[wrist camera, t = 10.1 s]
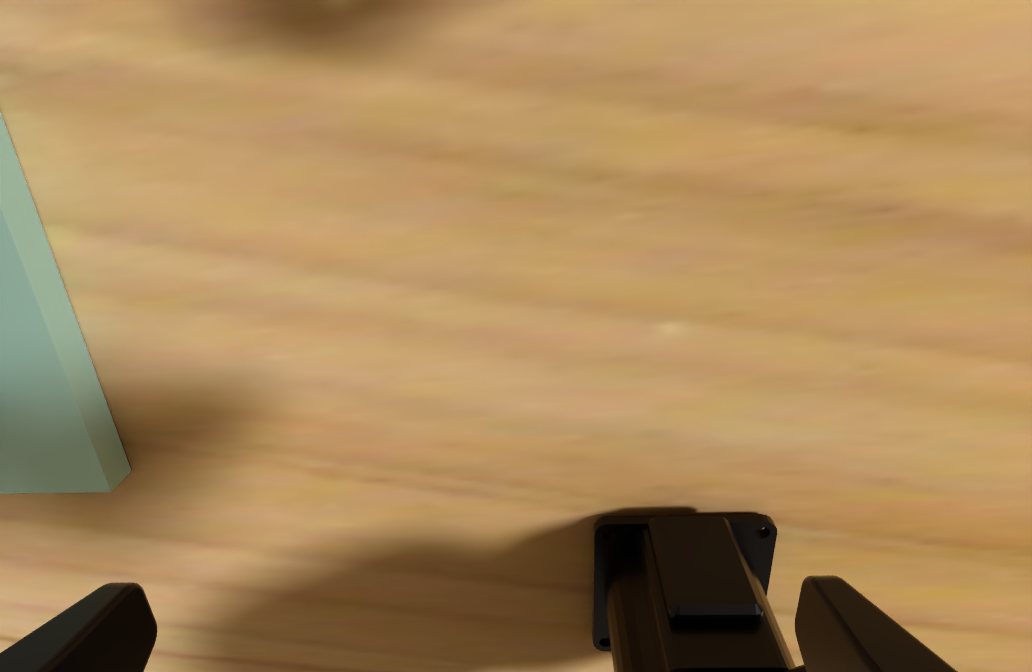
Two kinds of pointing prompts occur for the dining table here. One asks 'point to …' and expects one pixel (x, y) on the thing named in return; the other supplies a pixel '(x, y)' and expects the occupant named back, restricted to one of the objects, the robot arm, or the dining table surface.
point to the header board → (45, 364)
